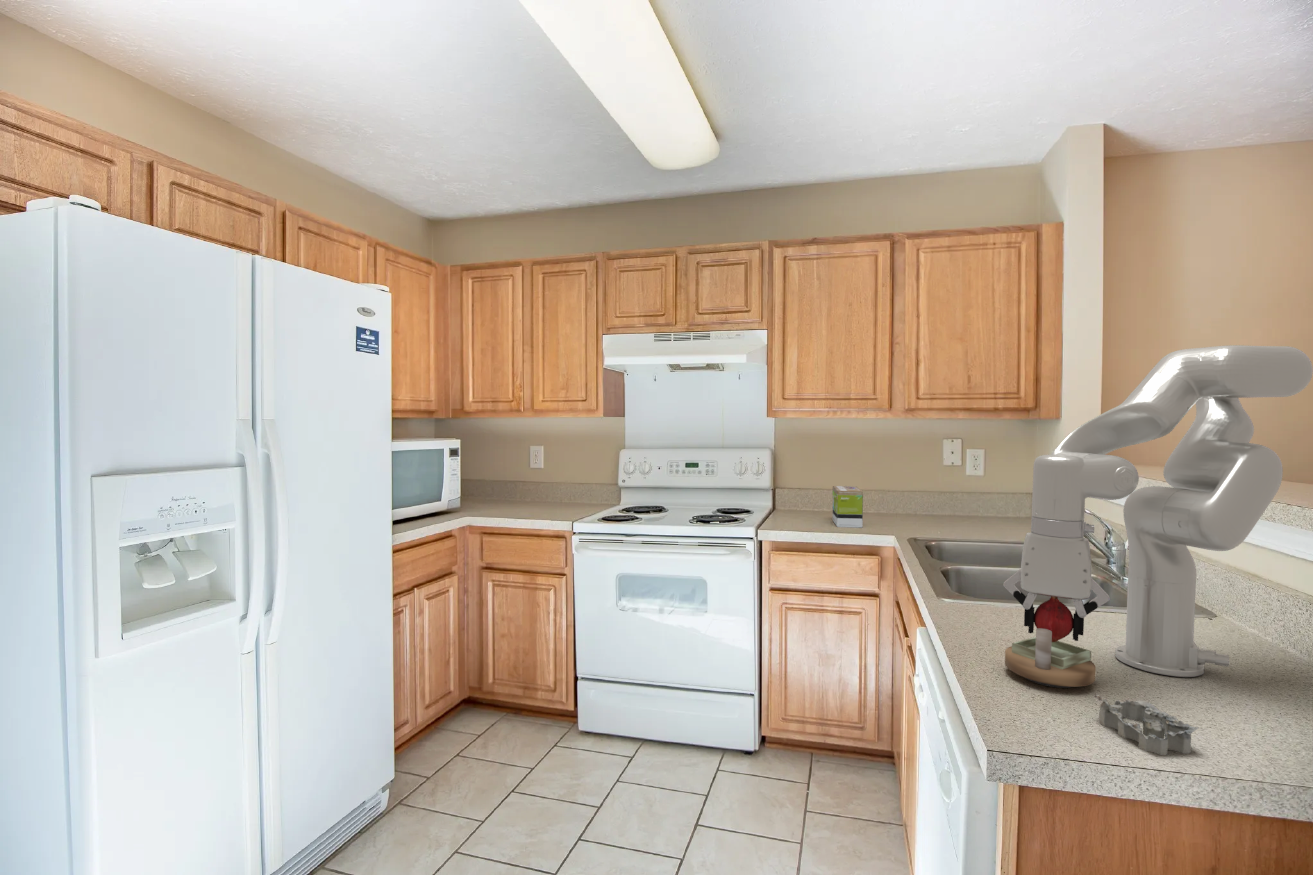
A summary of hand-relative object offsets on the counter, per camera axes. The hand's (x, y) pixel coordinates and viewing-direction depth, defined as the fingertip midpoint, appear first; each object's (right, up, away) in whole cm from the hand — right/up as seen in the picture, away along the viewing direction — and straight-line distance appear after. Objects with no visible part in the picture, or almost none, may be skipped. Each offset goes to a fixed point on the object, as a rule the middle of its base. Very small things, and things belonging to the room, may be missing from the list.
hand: (1052, 633), depth 109 cm
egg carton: (+1, -9, -20) cm, 21 cm away
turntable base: (-1, -7, 0) cm, 7 cm away
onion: (0, -2, 0) cm, 2 cm away
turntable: (-1, -6, -1) cm, 6 cm away
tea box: (+9, -2, +150) cm, 150 cm away
